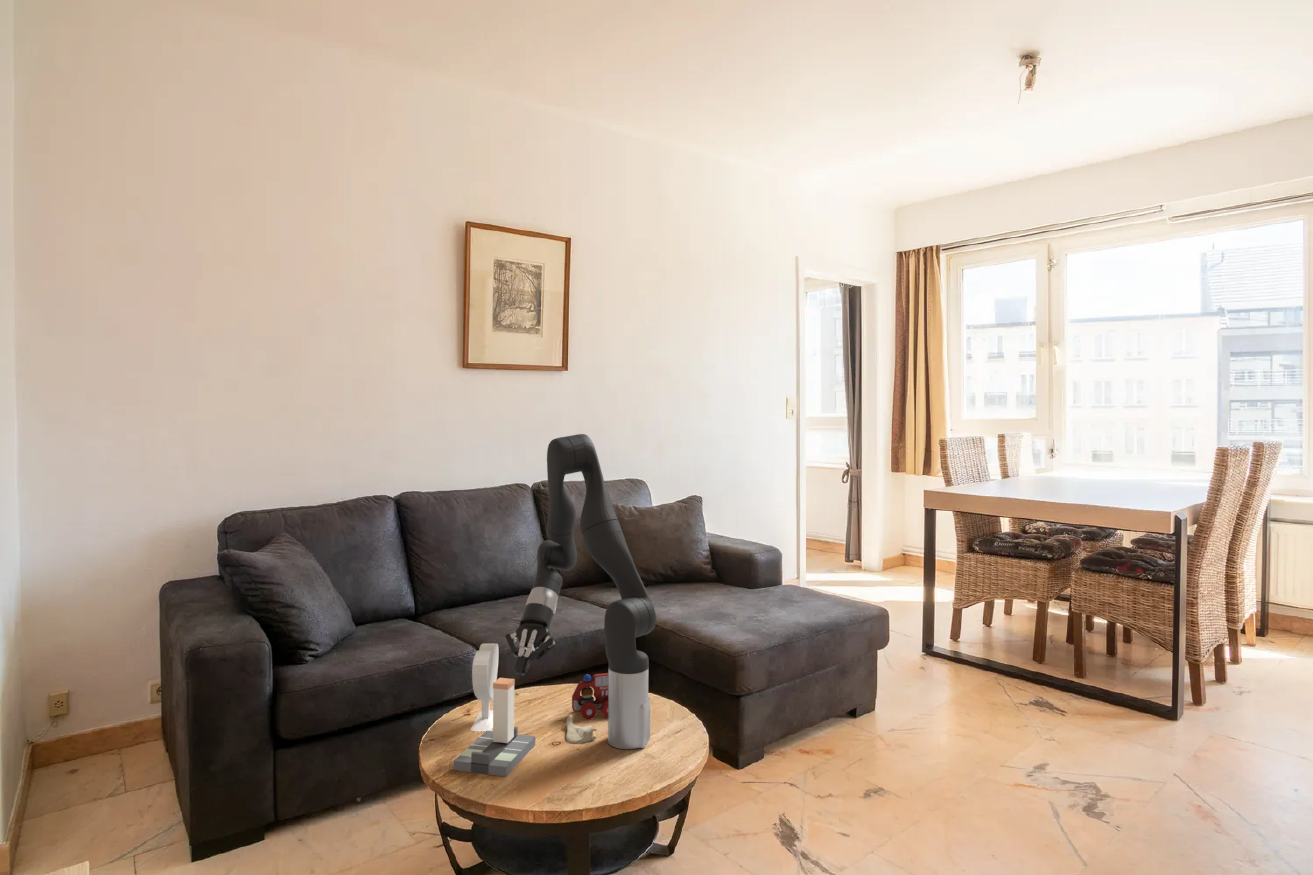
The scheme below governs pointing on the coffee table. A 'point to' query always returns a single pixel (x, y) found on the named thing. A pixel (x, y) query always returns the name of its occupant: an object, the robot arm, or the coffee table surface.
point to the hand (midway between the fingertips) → (519, 673)
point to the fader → (503, 710)
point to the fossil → (578, 732)
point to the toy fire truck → (586, 700)
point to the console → (494, 754)
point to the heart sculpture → (484, 683)
